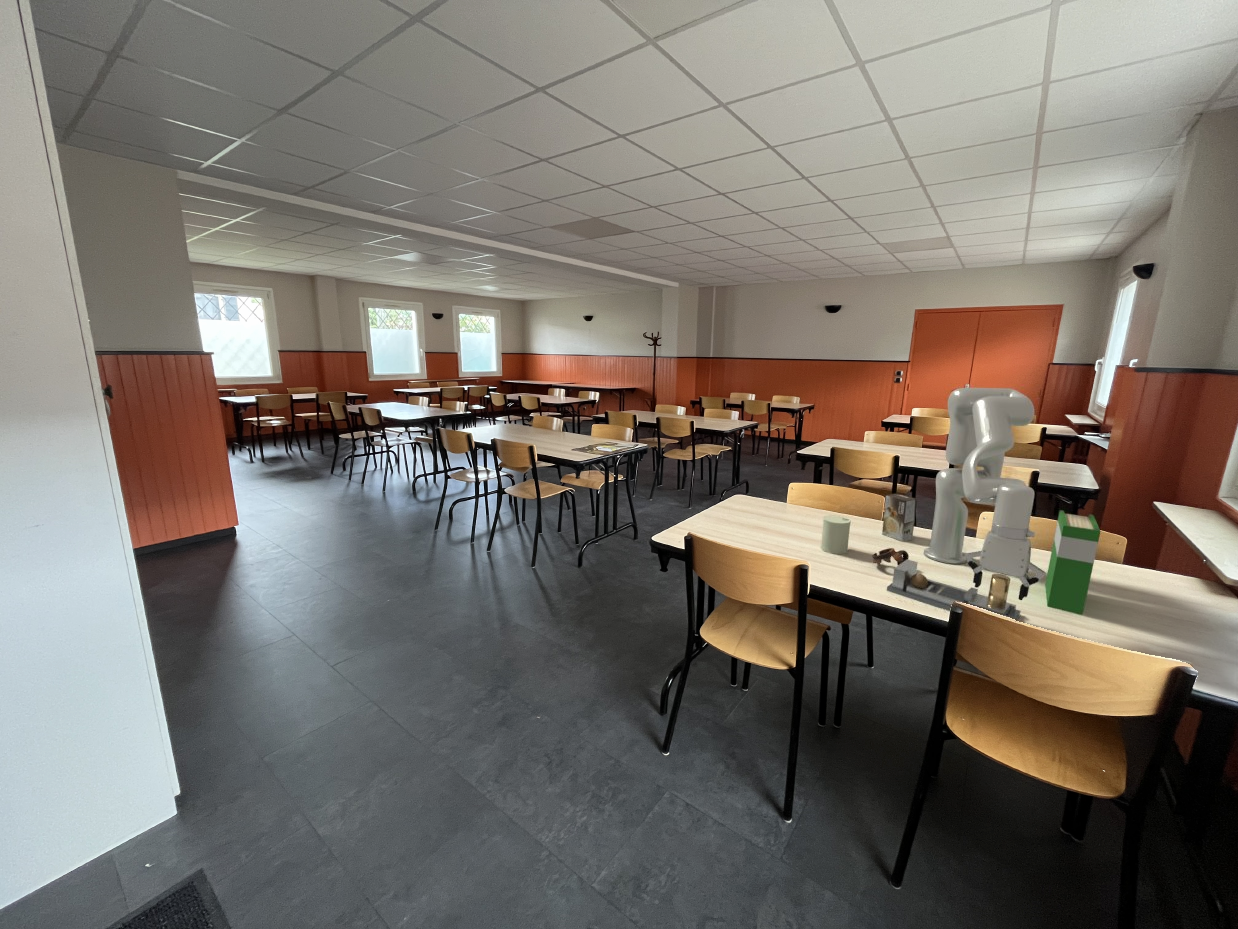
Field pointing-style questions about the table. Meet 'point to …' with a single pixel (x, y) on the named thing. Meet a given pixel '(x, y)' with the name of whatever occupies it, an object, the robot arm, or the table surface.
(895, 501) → the coffee box
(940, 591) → the base
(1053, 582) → the hardback book
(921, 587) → the walnut
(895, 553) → the rusty shackles
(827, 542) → the can
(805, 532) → the table surface
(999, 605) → the jaw carriage
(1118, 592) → the table surface
